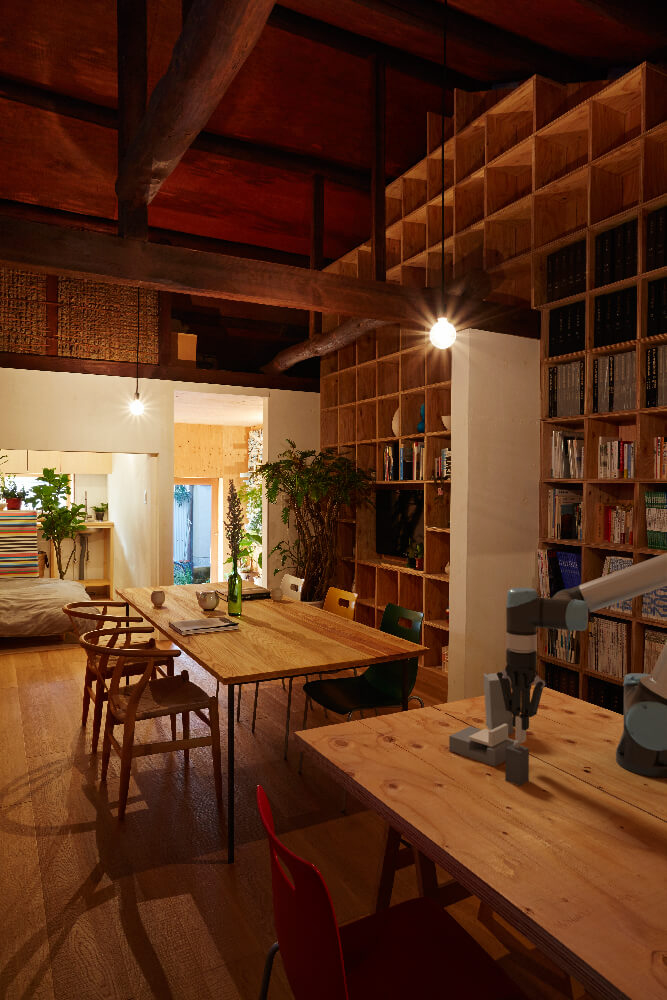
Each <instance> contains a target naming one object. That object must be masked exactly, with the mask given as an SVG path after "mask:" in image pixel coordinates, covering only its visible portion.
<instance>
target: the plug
mask: <svg viewBox="0 0 667 1000" xmlns="http://www.w3.org/2000/svg"><path fill="white" fill-rule="evenodd" d="M521 744H522V743H521V742H520V741H514V744H512V745H510V746H508V747H506V751H505V761H504V762H505V767H504V768H505V773H504V774H505V782H509V783H510V784H514V785H517V786H519V787H521V786H523V785H524V784H526V783H527V782H529V777H530V771H529V770H530V764H529V763H530V749H529V748H530V747H527V746H523V745H521Z"/></svg>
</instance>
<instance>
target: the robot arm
mask: <svg viewBox="0 0 667 1000" xmlns="http://www.w3.org/2000/svg"><path fill="white" fill-rule="evenodd" d="M665 587H667V552H666V553H662V554H661V555H658V556H657V555H656V556H655V557H652V558H649V559H647V560H644V561H641V562H639V563H636V564H633V565H631V566H628V567H625V568H623V569H620V570H617V571H614V572H611V573H609V574H606V575H603V576H601V577H598V578H596V579H593V580H592V579H591V580H590V581H587V582H584V583H582V584H579V585H578V586H577V585H576V586H573V587H572V588H567V589H565V588H564V589H561V590H559V591H557V592H556V593H555V594H554V595H553V596H552V597H551V598H550V597H549V598H546V597H541V596H539V594H538V590H536V589H535V588H531V587H511V588H510V589H509V590H507V594H506V605H505V609H506V610H505V611H506V612H505V613H506V614H505V615H506V617H505V618H506V633H505V634H506V638H505V644H506V645H505V646H506V648H507V649H505V650H506V651H505V655H506V656H505V661H506V665H505V668H504V670H501V671H498V672H496V673H497V676H498V678H499V680H500V683H501V688H502V693H503V698H504V703H505V708H506V710H507V711H510V712H511V713H512V716H513V728H515V730H514V732H515V734H514V736H515V739H514V740H515V741H520V742H521V744H522V743H524V742H526V741H527V731H528V730H529V728H530V718H532V717H534V716H536V715H537V714H538V710H539V705H540V703H541V698H542V694H543V689H544V688H545V687H546V686H547V680H545V679H542V678H541V677H540V676H539V673H538V670H537V666H538V665H537V664H538V661H537V660H538V659H537V658H538V651H536V650H537V648H538V645H537V643H538V628H541V629H552V630H563V631H570V632H574V631H579V632H580V631H582V632H585V631H586V630H587V629H588V625H589V624H588V623H589V614H590V613H593V612H596V611H598V610H601V609H604V608H607V607H609V606H612V605H615V604H618V603H622V602H624V601H627V600H630V599H632V598H633V599H634V598H636V597H639V596H642V595H644V594H647V593H650V592H654V591H656V590H659V589H662V588H665ZM509 679H510V680H511V686H510V681H509ZM533 683H534V684H533ZM532 684H533V685H534V688H533V691H532V693H531V690H532ZM622 686H623V731H622V734H621V736H620V740H619V742H618V745H617V747H616V750H615V761H616V763H617V764H618V765H619V766H620V767H621V768H623V769H625V770H627V771H629V772H632V773H634V774H638V775H642V776H647V777H651V778H652V777H653V778H667V640H665V643H664V646H663V647H662V650H661V652H660V654H659V656H658V658H657V660H656V662H655V664H654V667H653V669H652V671H651V673H641V672H640V673H638V672H636V673H633V672H631V673H627V674H625V675H624V678H623V683H622Z"/></svg>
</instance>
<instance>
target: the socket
mask: <svg viewBox="0 0 667 1000" xmlns="http://www.w3.org/2000/svg"><path fill="white" fill-rule="evenodd" d="M481 730H482V729H480V728H477V727H473V726H467V727H466V728H464V729H461V730H459V731H457V732H455V733H451V734H450V735H449V737H448V740H449V741H448V742H449V743H448V745H449V747H448V748H449V749H448V751H450V752H452V753H456V754H458V755H461V756H463V757H467V758H470V759H473V760H475V761H478V762H481V763H484V764H487V765H488V766H493V767H498V765H500V764H501V763H504V762H505V751H506V747H508V746H510V745H512V744H514V741H515V739H513V738H509V737H508V739H506V740H504V741H502V742H501V743H499V744H497V745H495V746H493V747H490V746H487V745H484V744H481V743H478V742H475V741H472V740H469V736H471V735H473V734H475V733H477V732H479V731H481Z"/></svg>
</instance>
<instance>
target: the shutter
mask: <svg viewBox="0 0 667 1000" xmlns="http://www.w3.org/2000/svg"><path fill="white" fill-rule="evenodd" d="M508 738H509V734H508V724H503V725H501V726H498V727H496V728H494V729H492V730H489V728H488V729H487V728H484V729H481V731H479V732H477V733H475V734H473V735H471V736H469V740H472V741H475V742H478V743H481V744H484V745H487V746H490V747H493V746H495V745H497V744H499V743H501V742H502V741H504V740H506V739H508Z"/></svg>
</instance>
